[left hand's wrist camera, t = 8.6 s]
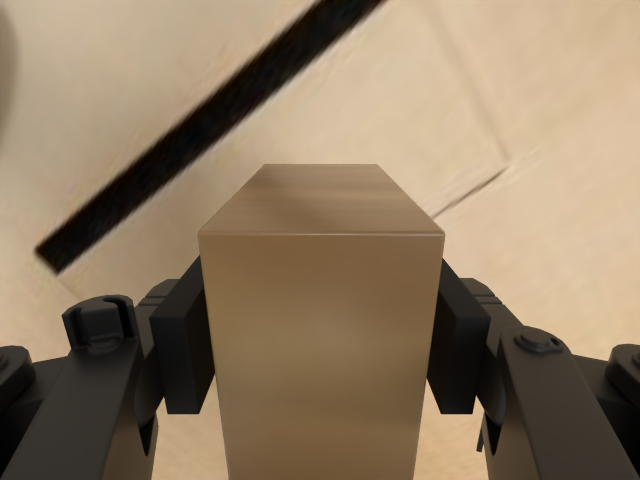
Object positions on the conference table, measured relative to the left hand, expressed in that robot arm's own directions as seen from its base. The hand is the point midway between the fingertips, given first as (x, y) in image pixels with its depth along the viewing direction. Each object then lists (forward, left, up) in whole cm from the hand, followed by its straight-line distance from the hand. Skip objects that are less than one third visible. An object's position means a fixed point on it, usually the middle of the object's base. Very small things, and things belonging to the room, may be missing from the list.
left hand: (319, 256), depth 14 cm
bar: (+8, 0, -1) cm, 8 cm away
